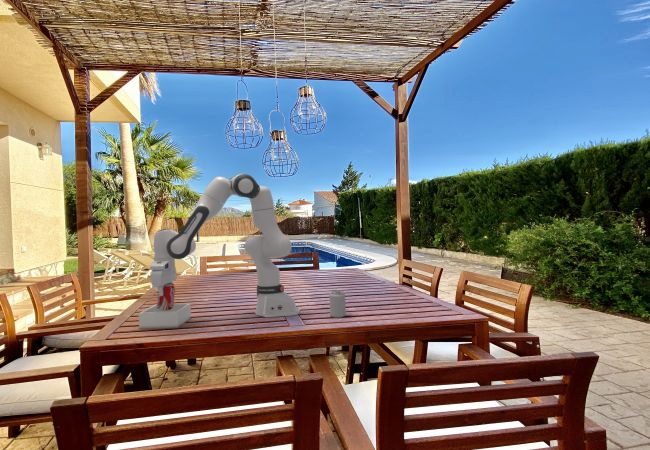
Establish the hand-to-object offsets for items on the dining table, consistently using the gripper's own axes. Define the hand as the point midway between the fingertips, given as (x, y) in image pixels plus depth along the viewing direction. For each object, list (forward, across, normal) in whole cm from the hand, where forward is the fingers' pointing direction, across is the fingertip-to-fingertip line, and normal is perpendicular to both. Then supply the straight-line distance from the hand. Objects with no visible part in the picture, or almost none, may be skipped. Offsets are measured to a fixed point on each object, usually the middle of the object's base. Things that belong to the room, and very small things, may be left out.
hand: (165, 293), depth 174 cm
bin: (+14, 0, 0) cm, 14 cm away
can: (+14, -4, +80) cm, 81 cm away
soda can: (+8, -1, -1) cm, 8 cm away
